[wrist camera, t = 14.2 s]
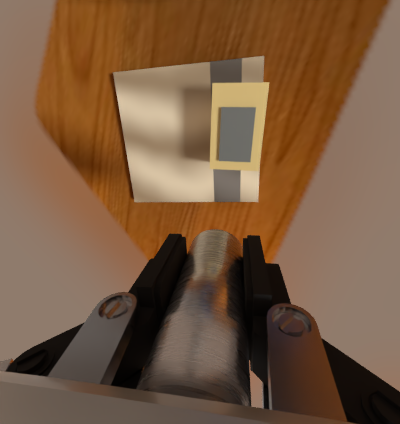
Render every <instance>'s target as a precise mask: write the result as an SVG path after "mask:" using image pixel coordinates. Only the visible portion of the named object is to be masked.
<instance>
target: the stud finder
mask: <svg viewBox="0 0 400 424" xmlns="http://www.w3.org/2000/svg"><path fill="white" fill-rule="evenodd" d="M268 89H269V82H268V83H212V110H211V139H210V168H209V169H222V170H244V171H259V166H260V157H261V148H262V140H263V131H264V123H265V114H266V106H267V97H268Z"/></svg>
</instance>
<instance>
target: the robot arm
mask: <svg viewBox="0 0 400 424" xmlns="http://www.w3.org/2000/svg"><path fill="white" fill-rule="evenodd" d="M186 257H187V249H186V238H185V237H182V235H181V234H169V235H168V237H167V239H166V240H165V242H164V243H163V245H162V246H161V248H160V250H159V251H158V253H157V254H156V256H155V257H154V259H150V260H149V262H148V263H147V265H146V266H145V268H144V269H143V271H142V272H141V274H140V275H139V277H138V278H137V280H136V281H135V283H134V284H133V286H132V287H131V289H130V290H129V292H120V293H115V294H112V295H110V296H108V297H106V298H104V299H103V300H102V301H100V302H99V303H98V304H97V306H96V307H95V308H94V310H93V311H92V313H91V314H90V316H89V317H88V319H87V320H86V322H85V323H83V324H81V325H78V326H77V327H74V328H72V329H70V330H68V331H66V332H64V333H62V334H59V335H57V336H55V337H53V338H51V339H49V340H47V341H45V342H43V343H41V344H38V345H36V346H34V347H32V348H30V349H29V350H27V351H25V352H24V353H23V354H21V355H20V356H19V357H18V358H16V359H15V360H14V361H13V360H12V359H8V360H5V361H1V362H0V424H400V392H399V391H398V390H396V389H395V388H393V387H392V386H390V385H389V384H388V383H386V382H385V381H383V380H382V379H380V378H379V377H377V376H376V375H375V374H373V373H371V372H370V371H369V370H367V369H366V368H364V367H363V366H361V365H360V364H358V363H357V362H356V361H354V360H353V359H351V358H350V357H348V356H347V355H345V354H344V353H342V352H341V351H340V350H338V349H337V348H335V347H334V346H332V345H330V344H329V343H328V342H326V341H325V340H324V339H322V338H321V336H320V333H319V329H318V326H317V323H316V321H315V319H314V318H313V317H312V316H311V315H310V314H309V313H308V312H307V311H306V310H304V309H303V308H301V307H298V306H296V305H292V304H291V302H290V299H289V296H288V293H287V289H286V286H285V283H284V280H283V276H282V273H281V270H280V267H279V265H278V264H270V263H265V259H264V254H263V250H262V245H261V240H260V236H252V235H248V236H247V238H243V277H244V299H245V322H246V327H247V334H248V354H249V360H250V365H251V366H250V367H251V371H253V372H254V373H255V374H256V376H257V377H259V379H260V380H261V381H262V405H263V408H256V407H250V406H243V405H237V404H230V403H224V402H217V401H210V400H204V399H197V398H190V397H184V396H177V395H170V394H163V393H157V392H150V391H143V390H136V388H137V385H138V382H139V380H140V377H141V375H142V372H143V369H144V367H145V364H146V361H147V359H148V356H149V354H150V351H151V348H152V346H153V343H154V340H155V338H156V335H157V333H158V330H159V327H160V325H161V322H162V320H163V317H164V314H165V312H166V309H167V306H168V304H169V301H170V299H171V296H172V293H173V291H174V288H175V285H176V283H177V280H178V278H179V275H180V272H181V270H182V267H183V265H184V262H185V259H186Z"/></svg>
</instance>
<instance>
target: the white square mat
mask: <svg viewBox="0 0 400 424" xmlns="http://www.w3.org/2000/svg"><path fill="white" fill-rule="evenodd" d="M263 73H264V56H259V57H250V58H241V59H232V60H223V61H213V62H204V63H195V64H186V65H177V66H168V67H158V68H149V69H140V70H131V71H122V72H113V75H114V81H115V87H116V93H117V99H118V105H119V111H120V117H121V123H122V129H123V135H124V141H125V147H126V153H127V159H128V165H129V171H130V177H131V183H132V189H133V195H134V200H135V202H258V192H259V171H244V170H222V169H209V168H210V139H211V110H212V83H263ZM259 168H260V166H259Z"/></svg>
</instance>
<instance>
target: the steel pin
mask: <svg viewBox="0 0 400 424" xmlns="http://www.w3.org/2000/svg"><path fill="white" fill-rule="evenodd" d="M136 390H143V391H150V392H157V393H163V394H170V395H177V396H184V397H190V398H197V399H204V400H210V401H217V402H224V403H230V404H237V405H243V406H250V407H251V392H250V373H249V354H248V334H247V327H246V322H245V299H244V277H243V249H242V246H241V244H240V242H239V241H238V240H237V238H236V237H234V236H233V235H232V234H230V233H228V232H226V231H223V230H207V231H204V232H202V233H200V234H199V235H197V236H196V237H195V238H194V240H193V241H192V244H191V246H190V249H189V251H188V254H187V257H186V259H185V262H184V265H183V267H182V270H181V272H180V275H179V278H178V280H177V283H176V285H175V288H174V291H173V293H172V296H171V299H170V301H169V304H168V306H167V309H166V312H165V314H164V317H163V320H162V322H161V325H160V327H159V330H158V333H157V335H156V338H155V340H154V343H153V346H152V348H151V351H150V354H149V356H148V359H147V361H146V364H145V367H144V369H143V372H142V375H141V377H140V380H139V382H138V385H137V388H136Z"/></svg>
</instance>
